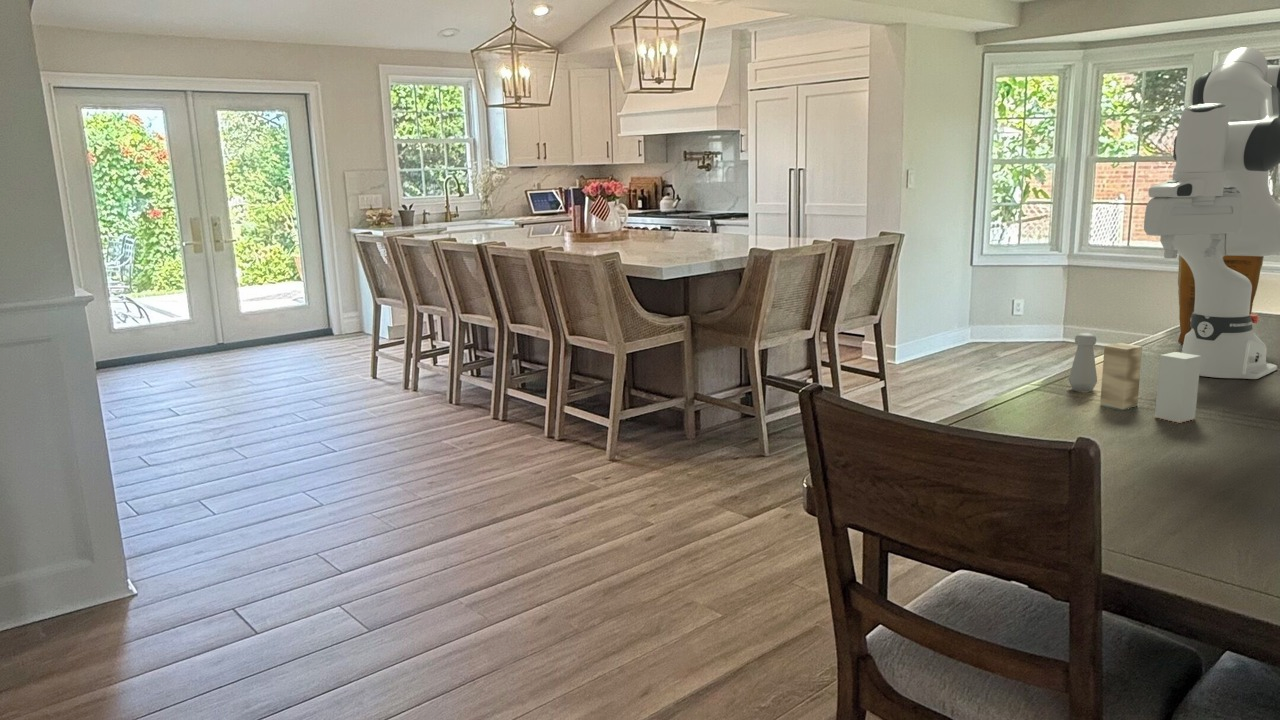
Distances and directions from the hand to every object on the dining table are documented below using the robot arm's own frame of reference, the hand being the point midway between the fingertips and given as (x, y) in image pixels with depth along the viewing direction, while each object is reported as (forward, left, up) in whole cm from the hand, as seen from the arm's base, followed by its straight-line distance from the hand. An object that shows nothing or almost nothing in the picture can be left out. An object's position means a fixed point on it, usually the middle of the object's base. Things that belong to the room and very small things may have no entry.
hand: (1190, 257), depth 179 cm
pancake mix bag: (-67, -31, -32) cm, 80 cm away
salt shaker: (+2, -20, -32) cm, 38 cm away
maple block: (+8, -7, -31) cm, 33 cm away
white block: (+8, +5, -31) cm, 33 cm away
